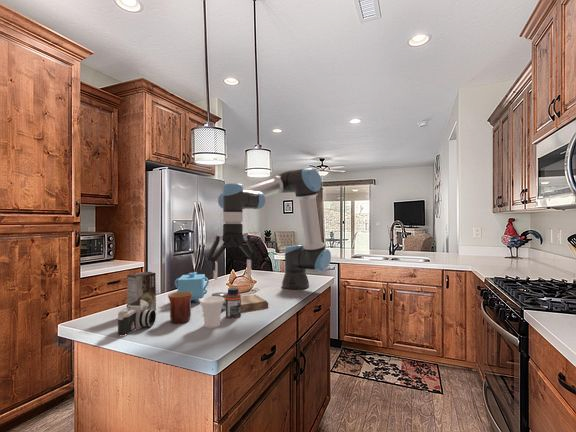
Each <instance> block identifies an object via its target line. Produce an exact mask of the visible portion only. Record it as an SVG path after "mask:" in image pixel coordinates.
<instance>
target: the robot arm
mask: <svg viewBox="0 0 576 432" xmlns="http://www.w3.org/2000/svg"><path fill="white" fill-rule="evenodd" d="M321 187H322V178H321V174H320V173H319V172H318V171H317V170H316V169H315V168H309V167H308V168H305V167H304V168H300V169H291V170H287V171H284V172H281V173H278V174H276V175H273V176H271V177H270V178H269V179H267V180H264V181H260V182H259V183H258V182H257V183H255V184H252V185H247V186H245V187H244V186H243V184H241V183H235V182H233V183H232V182H231V183H225V184H224V185H223V189H222V191H223V192H222V193H220V194H219V196H218V199H217V202H218V206H219V207H220V208H221V209H222V210H223V212H222V215H223V216H222V218H223V219H222V220H223V221H222V222H223V225H222V236H221V235H220V236H219V235H215V236H214V241H213V243H212V245H211V247H210V249H209V251H208V253H207V256H206V258H205V259H206V261H209V262H210V270H211V271H213V279H214V280H218V271H219V269H218V261H217V260H218V258H219V257H221V255H222V254H223V253H224V251H225V250H226V249H227V248H233V247H235V248H237V247H238V248H240V250H241V251H242V252H243V253H244V254H245V255H246V257H247V259H246V276H247V277H252V269H253V267H254V260H255V259H256V258H257V259H258V257H259V255H258V254H257V251H256V249H255V247H254V245H253V243H252V240H251V235H249V234H246V235H243V233H244V232H243V231H244V230H243V225H244V224H243V222H244V219H243V217H244V216H243V212H244V210H245V209H246V210H250V209H251V210H260V209H262V208H263V207H264V206H265V205H266V197H269V196H271V195H280V194H284V193H287V194H288V193H295V198H297V199H298V201H299V208H300V214H301V215H300V216H301V222H302V229H303V235H304V243H305V244H298V245H290V246H288V245H287V246H286V247H285V250H284V274H283V275H284V276H283V279H282V281H281V287H282V288H284V289H288V290H304V289H307V288H309V287H310V282H309V278H308V275H307V271H306V270H311V271H316V272H324V271H326V270H327V269H328V268H329V266H330V263H331V260H332V253H331V251H330V250H329V249H327V248H326V245H325V243H324V242H323V241H322V235H321V228H320V227H321V226H320V219H319V214H318V213H319V212H318V205H317V199H316V198H317V196H318V195H319V191H320V189H321ZM243 240H244V241H245V242H246V245H247V247H246V246H245V245H244V243H243ZM221 241H223V243H222V244H221V246H220V247H219V248H217V247H218V246H219V244H220V242H221ZM247 248H248V249H249V250H248V249H247ZM217 249H218V250H217Z"/></svg>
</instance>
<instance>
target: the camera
mask: <svg viewBox="0 0 576 432" xmlns="http://www.w3.org/2000/svg"><path fill="white" fill-rule="evenodd" d="M148 306H149V304H148V302H146V301H144V300H138V301H135V302H132V303H129V304H126V307H125V308H122V309H121V310H120V311H119V312H118V314H117V335H118V334H119V335H125V334H129V333H130V332H132V331H133V332H135V331H136V330H135V329H137V330H140V329H142V328H143V327H147V328H148V327H153V326H154V324H155V322H156V318H157V314H156V311H154V310H153V309H149V310H148V309H147V307H148ZM134 330H135V331H134ZM133 332H132V333H133ZM130 334H131V333H130ZM130 334H129V335H130ZM119 335H118V336H119Z"/></svg>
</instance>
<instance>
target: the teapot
mask: <svg viewBox="0 0 576 432" xmlns="http://www.w3.org/2000/svg"><path fill="white" fill-rule="evenodd" d="M209 283H210V280H209V279H208V277H206V275H205V273H200V274H199V273H198V271H194V272H188V274H182V275H181V276H180V277H178V278H176V279H175V281H174V286H175V288H177V290H176V292H182V291H187V292H192V293H193V294H192V298H191V301H194V303H199V304H200V302H199V298H200V299H201V298H204V297H205V295H206V294H207V293H208V289H206V288H207V287H208V286H209Z"/></svg>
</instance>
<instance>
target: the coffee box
mask: <svg viewBox="0 0 576 432" xmlns="http://www.w3.org/2000/svg"><path fill="white" fill-rule="evenodd" d="M126 279H127V281H126V282H127V283H126V285H127V286H126V287H127V288H126V289H127V292H126V294H127V304H129V303H132V302H135V301H138V300H144V301H146V302H148V304H149V306H148V307H147V309H148V310H149V309H153V310H154V311H155V312H156V311H157V293H156V291H157V289H156V288H157V287H156V286H157V285H156V283H157V282H156V272H152V271H148V270H147V271H141V272H136V273H131V274H130V273H129V274H127V275H126ZM127 304H126V305H127Z"/></svg>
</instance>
